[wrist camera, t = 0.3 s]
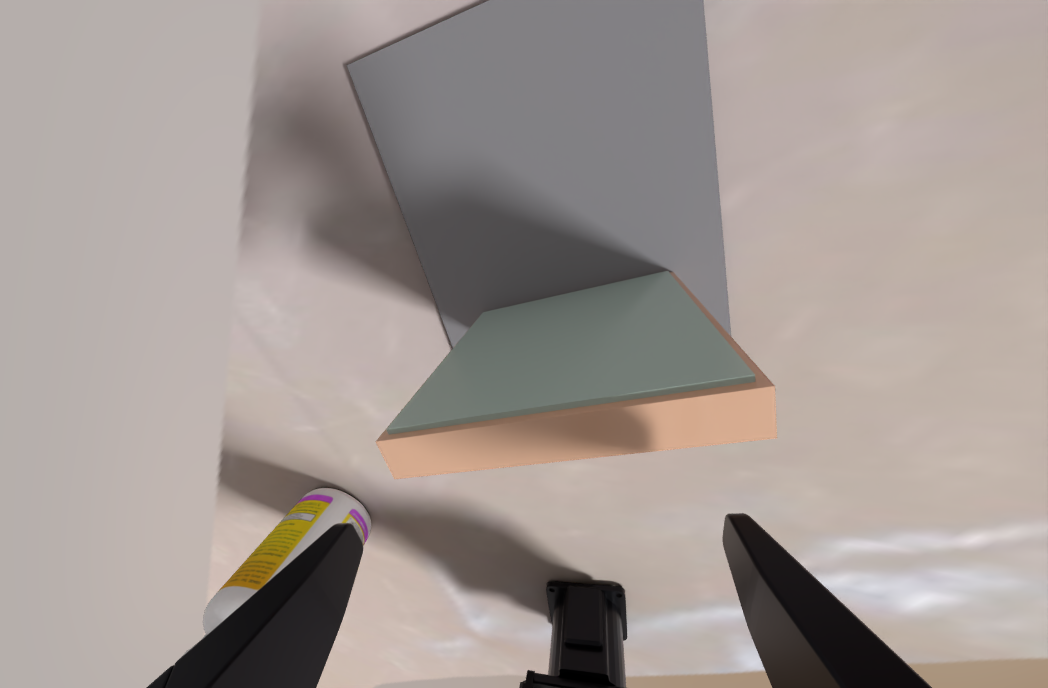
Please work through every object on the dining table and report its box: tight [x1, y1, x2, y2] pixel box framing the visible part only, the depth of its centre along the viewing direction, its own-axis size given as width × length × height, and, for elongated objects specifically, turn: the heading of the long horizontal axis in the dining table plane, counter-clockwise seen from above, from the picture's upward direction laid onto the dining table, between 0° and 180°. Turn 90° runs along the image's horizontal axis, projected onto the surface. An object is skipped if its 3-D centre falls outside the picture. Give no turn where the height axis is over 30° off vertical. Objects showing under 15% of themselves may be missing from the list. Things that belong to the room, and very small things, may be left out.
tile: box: [376, 271, 777, 479], centre depth 16 cm, size 2×11×12 cm, turn 106°
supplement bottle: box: [184, 488, 371, 655], centre depth 27 cm, size 7×7×13 cm
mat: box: [347, 0, 731, 348], centre depth 20 cm, size 20×16×1 cm
